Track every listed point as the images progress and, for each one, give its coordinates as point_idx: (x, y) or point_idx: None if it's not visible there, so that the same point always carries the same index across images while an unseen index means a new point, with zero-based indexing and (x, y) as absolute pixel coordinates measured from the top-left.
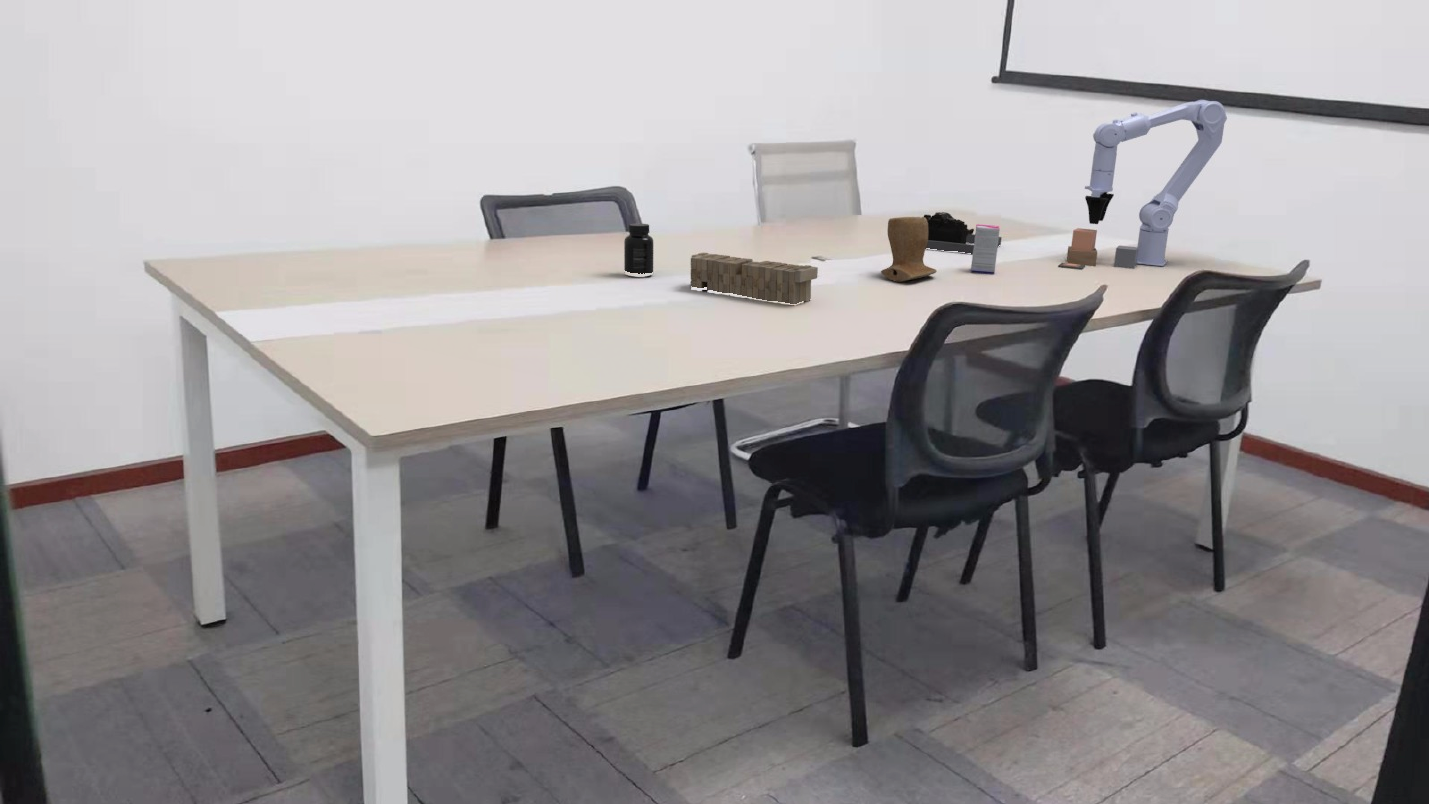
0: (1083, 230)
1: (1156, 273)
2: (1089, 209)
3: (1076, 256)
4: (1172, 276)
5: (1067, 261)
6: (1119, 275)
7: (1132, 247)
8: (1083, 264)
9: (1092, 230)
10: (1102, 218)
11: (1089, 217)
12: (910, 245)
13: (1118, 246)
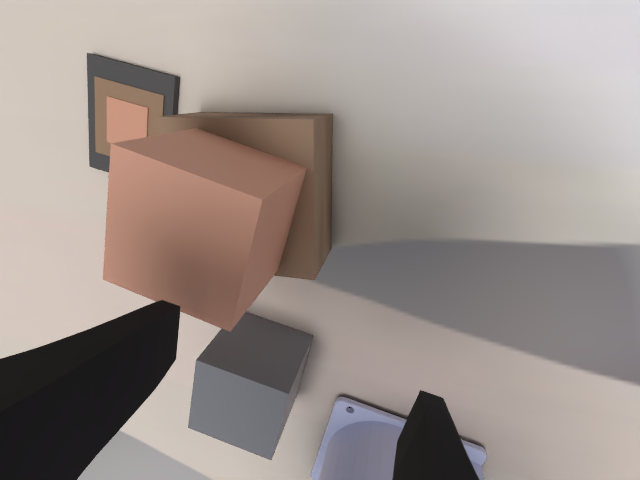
0: (152, 228)
1: (173, 413)
2: (8, 364)
3: None
4: (147, 440)
5: (255, 113)
6: (66, 290)
7: (256, 434)
8: None
9: (191, 295)
10: (396, 460)
11: (114, 321)
12: None
13: (255, 383)
